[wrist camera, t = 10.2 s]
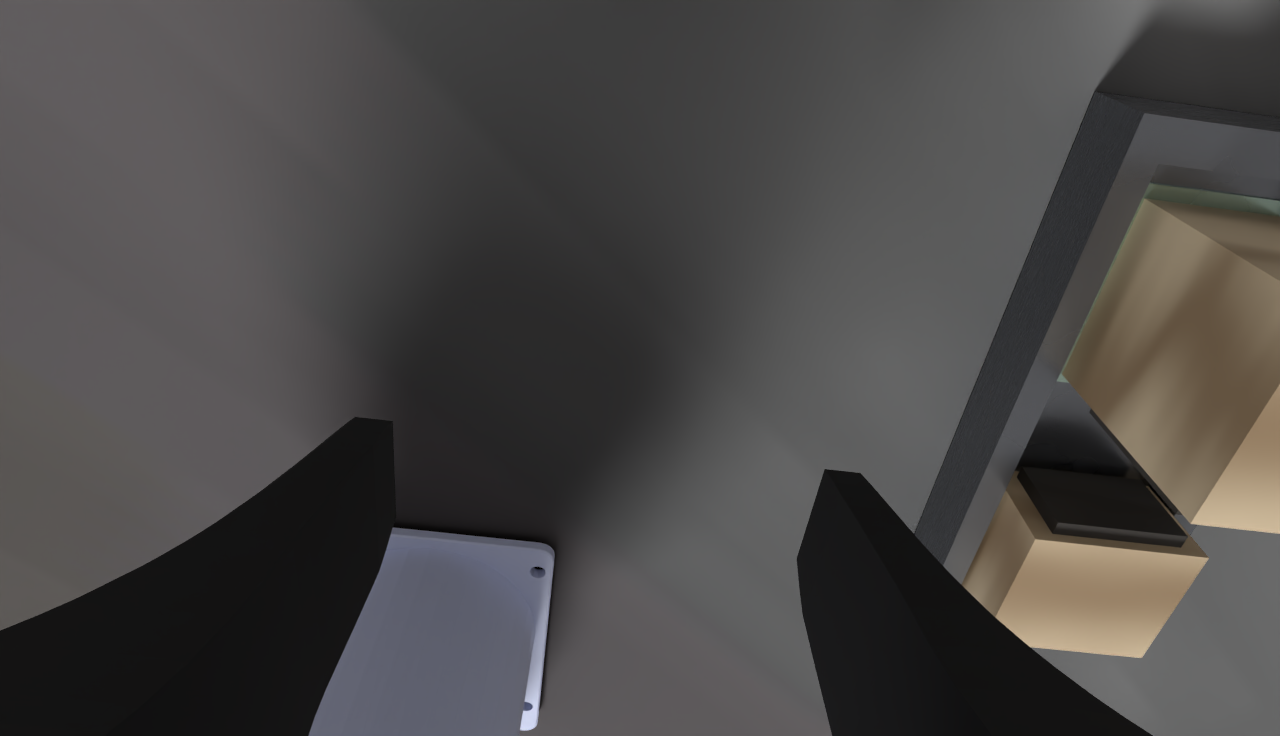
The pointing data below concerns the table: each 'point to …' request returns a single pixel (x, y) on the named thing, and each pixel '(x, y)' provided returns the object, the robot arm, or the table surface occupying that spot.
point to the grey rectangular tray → (1085, 299)
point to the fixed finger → (1083, 562)
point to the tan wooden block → (1192, 361)
